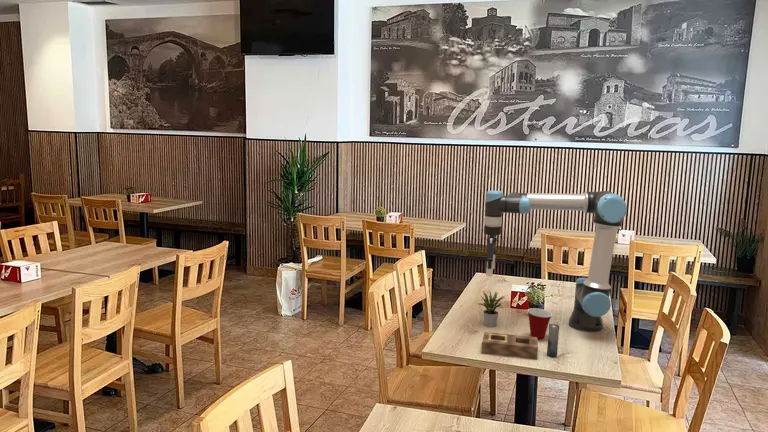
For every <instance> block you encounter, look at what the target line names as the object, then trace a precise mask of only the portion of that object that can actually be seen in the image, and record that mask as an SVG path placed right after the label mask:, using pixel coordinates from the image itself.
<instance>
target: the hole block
mask: <svg viewBox="0 0 768 432" xmlns="http://www.w3.org/2000/svg"><path fill="white" fill-rule="evenodd" d="M538 343H539V342H538V340H537V337H531V336H525V335H518V334H508V333H499V332H489V331H484V332H483V336H482V341H481V354H483V355H484V354H485V355H492V356H493V355H494V356H501V357H502V356H503V357H510V358H518V359H519V358H520V359H528V360H538V353H539V350H538V349H539V344H538Z"/></svg>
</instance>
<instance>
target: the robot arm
mask: <svg viewBox="0 0 768 432" xmlns="http://www.w3.org/2000/svg"><path fill="white" fill-rule="evenodd" d="M484 202H485V204H484V217H483V219H482V220H484V227H483V234H484V235H488V236H489V237H487V240H486V241H487V252H486V253H487V254H486V258H485V259H484V261H485V262H486V270H485V271H486V272H485V275H486V277H487V276H489V277H493V275H494V274H493V271H494V270H495V265H496V255H497V253H498V252H497V250H496V248H497V239H498V238H497V236H500V235H501V234H502V224H503V223H502V222H503V214H521V215H523V214H524V215H525V214H529V213H530V212H531V210H537V211H538V210H543V211H546V210H547V211H580V212H581V211H582V212H583V213H585V214H594V215H593V221H592V223H593V225H595V231H594V238H593V245H592V250H591V256H590V262H589V269H588V275H587V277H579V278H577V279H576V281H575V282H576V283H575V288H574V289H575V293H574V306H573V310H572V312H571V315H570V317H569V319H568V326H569V327H570V328H572V329H575V330H578V331H582V332H589V333H590V332H591V333H593V332H600V331H602V330H603V327H604V322H603V318H602V317H603V316H604V315H606V314H607V313H608V312H609V311H610V309H611V306H612V303H611V302H612V301H611V299H610V295H611V289H612V286H611V285H610V284H609V278H610V274H611V273H610V271H611V267H612V263H613V261H612V260H613V256H614V255H613V254H614V249H615V243H616V239H617V238H616V237H617V231H618V230H619V229H620V228H621V227H622V225H623V219H624V218H625V217H626V215H627V211H628V205H627V203H626V201H625V200H624V198H623V197H622V196H620V195H619V194H616V193H614V192H612V191H610V190H599V191H584V192H583V193H548V192H547V193H545V192H543V193H542V192H541V193H540V192H539V193H537V192H517V191H512V192H510V193H509V194H508V195H504V192H503V191H502V190H488V191H486V192H485V201H484Z"/></svg>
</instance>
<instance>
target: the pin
mask: <svg viewBox="0 0 768 432" xmlns="http://www.w3.org/2000/svg"><path fill="white" fill-rule="evenodd" d="M559 336H560V325H559V324H557V323H549V324H548V336H547V349H546V350H547V351H546V356H547V357H549V358H553V359H554V358H557V357H558V350H559V349H558V347H559Z"/></svg>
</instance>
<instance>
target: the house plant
mask: <svg viewBox="0 0 768 432" xmlns="http://www.w3.org/2000/svg"><path fill="white" fill-rule="evenodd" d="M498 294H499V292H497V291H495V292H494V295H493V296H492V293H491V291H489V295H488V294H486V292H485V291H483V295H484V297H483V296H482V295H480V297H481V299H482V300H483V301H484V302H483V303H478V304H477V305H480V306H483V307H485V310H483V311H482V314H483V315H482V316H483V323H484V326H485V327H488V328H493V327H496V326H497V321H498V315H499V311H497V310H499V309H500V308H501V309H504V306H502V302H501V300H503V299H506V298H505V295H502V296H501V297H499V298H498V299H497V297H498ZM506 297H508V295H506ZM499 302H500V303H499Z"/></svg>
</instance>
